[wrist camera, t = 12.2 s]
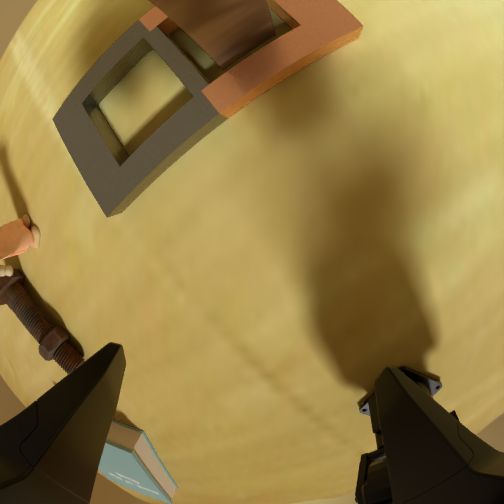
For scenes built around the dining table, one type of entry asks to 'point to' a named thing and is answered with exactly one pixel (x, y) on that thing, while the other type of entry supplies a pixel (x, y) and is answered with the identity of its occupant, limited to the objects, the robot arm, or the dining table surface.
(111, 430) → the book
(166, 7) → the walnut post
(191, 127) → the grey-tan flat frame piece
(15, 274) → the bolt
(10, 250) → the grandmother figurine
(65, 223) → the dining table surface
